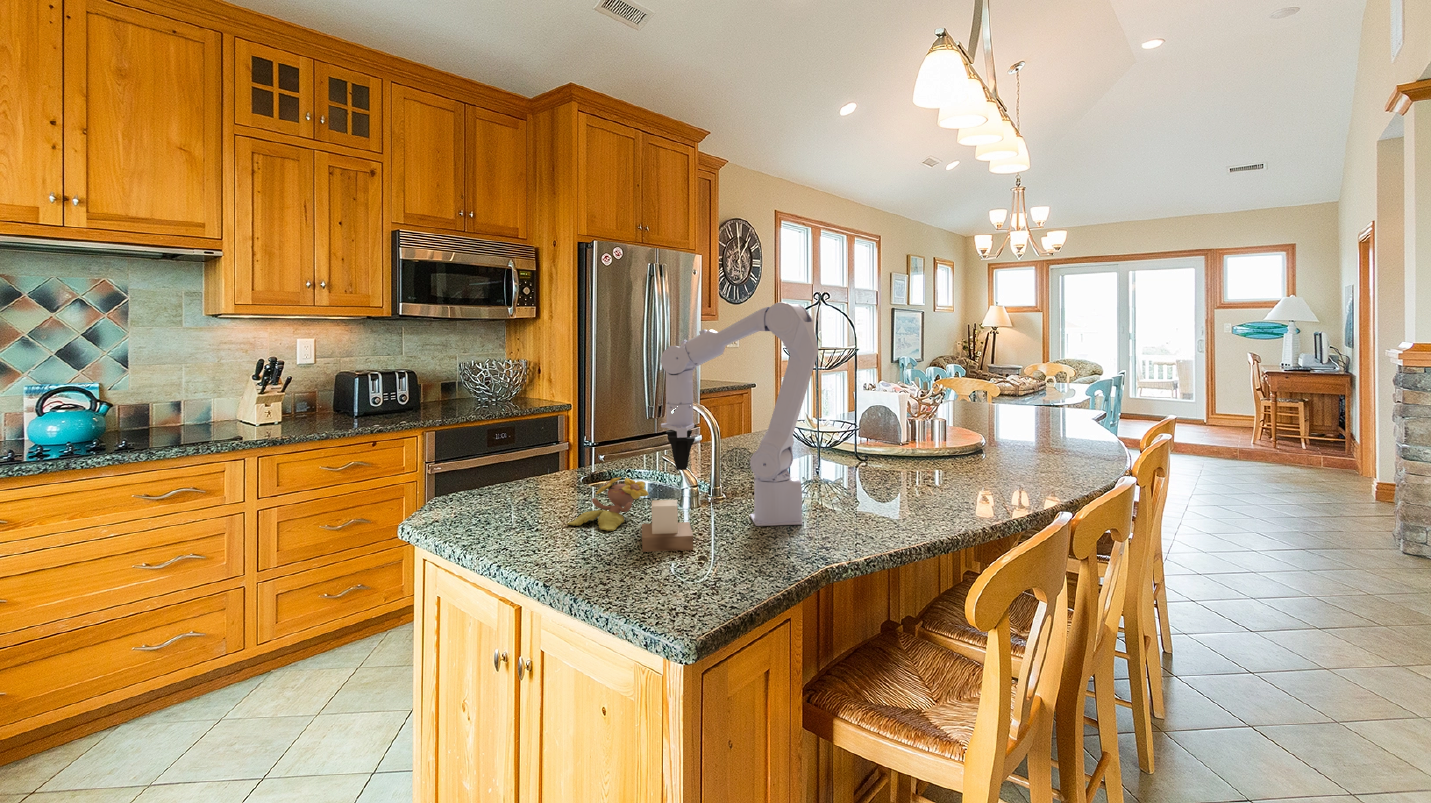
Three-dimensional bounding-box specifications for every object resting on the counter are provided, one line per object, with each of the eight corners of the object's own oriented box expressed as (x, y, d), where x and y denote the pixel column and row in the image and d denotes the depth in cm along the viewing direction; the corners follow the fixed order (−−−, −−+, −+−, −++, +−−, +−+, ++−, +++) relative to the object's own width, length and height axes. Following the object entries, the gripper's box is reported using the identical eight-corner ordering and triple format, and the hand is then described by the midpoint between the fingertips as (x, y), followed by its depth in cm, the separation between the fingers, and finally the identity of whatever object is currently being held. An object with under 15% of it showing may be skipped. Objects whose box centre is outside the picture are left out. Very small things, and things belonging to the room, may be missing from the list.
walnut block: (689, 537, 131) (689, 521, 131) (693, 552, 122) (693, 535, 122) (641, 539, 130) (641, 523, 130) (642, 554, 121) (642, 537, 121)
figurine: (561, 523, 137) (590, 460, 145) (583, 544, 144) (610, 483, 152) (612, 530, 132) (640, 465, 140) (632, 553, 139) (658, 489, 147)
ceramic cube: (677, 526, 128) (677, 499, 127) (677, 533, 123) (677, 505, 123) (652, 526, 128) (652, 500, 127) (652, 533, 123) (651, 506, 123)
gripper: (659, 400, 152) (660, 460, 154) (661, 406, 138) (662, 473, 139) (691, 399, 153) (692, 459, 155) (696, 406, 139) (697, 472, 140)
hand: (680, 466), depth 147 cm, fingers open, 7 cm apart
